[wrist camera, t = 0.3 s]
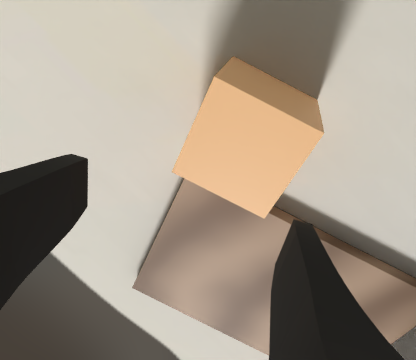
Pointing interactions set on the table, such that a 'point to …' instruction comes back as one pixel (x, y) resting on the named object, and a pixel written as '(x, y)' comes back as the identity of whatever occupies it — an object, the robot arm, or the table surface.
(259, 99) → the orange cube
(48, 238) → the robot arm
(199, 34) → the table surface
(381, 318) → the walnut board
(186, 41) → the table surface
